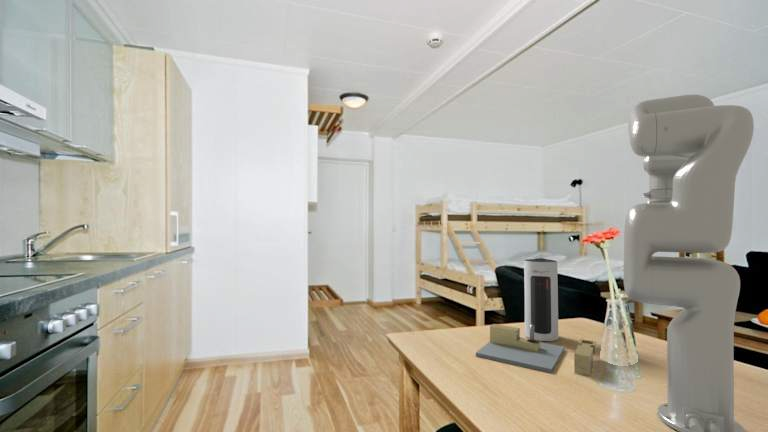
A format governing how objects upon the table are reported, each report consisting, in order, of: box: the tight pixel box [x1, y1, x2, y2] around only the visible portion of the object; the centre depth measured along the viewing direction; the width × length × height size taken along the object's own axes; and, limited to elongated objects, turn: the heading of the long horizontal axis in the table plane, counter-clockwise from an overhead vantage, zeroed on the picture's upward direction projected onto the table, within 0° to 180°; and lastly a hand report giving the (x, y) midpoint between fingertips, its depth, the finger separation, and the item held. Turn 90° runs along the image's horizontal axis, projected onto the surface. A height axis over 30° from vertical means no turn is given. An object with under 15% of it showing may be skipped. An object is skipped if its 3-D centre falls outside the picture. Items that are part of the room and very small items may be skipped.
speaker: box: [523, 257, 559, 343], centre depth 121 cm, size 11×10×26 cm
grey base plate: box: [475, 340, 565, 374], centre depth 106 cm, size 20×20×1 cm
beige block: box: [573, 338, 597, 377], centre depth 97 cm, size 14×4×5 cm, turn 145°
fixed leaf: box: [489, 323, 542, 352], centre depth 110 cm, size 4×14×7 cm, turn 55°
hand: (665, 255), depth 105 cm, fingers open, 9 cm apart
